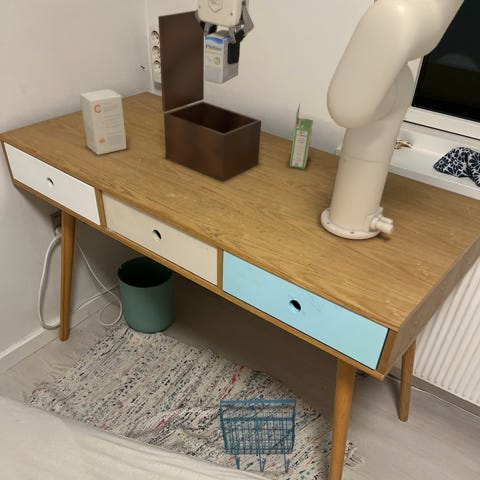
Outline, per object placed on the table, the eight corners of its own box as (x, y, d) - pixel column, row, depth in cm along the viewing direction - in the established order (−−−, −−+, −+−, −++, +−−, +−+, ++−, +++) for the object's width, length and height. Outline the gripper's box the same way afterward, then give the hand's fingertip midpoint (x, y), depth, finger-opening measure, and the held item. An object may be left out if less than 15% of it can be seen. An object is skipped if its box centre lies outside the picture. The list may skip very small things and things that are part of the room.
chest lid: (204, 9, 113) (201, 9, 114) (160, 16, 105) (158, 16, 105) (203, 99, 126) (201, 98, 126) (164, 112, 118) (162, 111, 118)
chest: (258, 164, 125) (261, 120, 118) (222, 181, 117) (224, 135, 110) (202, 143, 134) (202, 101, 126) (165, 158, 125) (163, 113, 118)
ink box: (305, 169, 124) (313, 114, 116) (289, 167, 125) (296, 112, 116) (307, 158, 130) (315, 104, 121) (292, 156, 130) (299, 102, 121)
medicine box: (220, 72, 113) (222, 29, 108) (238, 76, 112) (240, 32, 106) (203, 80, 108) (204, 35, 102) (222, 84, 107) (223, 38, 101)
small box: (115, 140, 132) (110, 88, 123) (127, 149, 128) (122, 95, 120) (86, 146, 128) (78, 92, 119) (97, 155, 124) (90, 100, 116)
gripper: (179, -49, 97) (181, 54, 109) (248, -38, 90) (242, 72, 102) (204, -50, 102) (204, 49, 114) (273, -40, 94) (264, 65, 106)
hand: (222, 59), depth 108 cm, fingers closed on medicine box, 5 cm apart
